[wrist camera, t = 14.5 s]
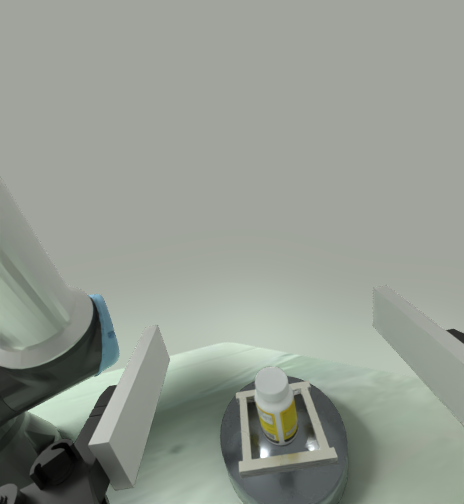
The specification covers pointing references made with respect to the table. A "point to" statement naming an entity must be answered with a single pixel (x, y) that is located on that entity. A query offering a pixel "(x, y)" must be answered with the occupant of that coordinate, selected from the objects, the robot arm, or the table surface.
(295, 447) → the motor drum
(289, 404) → the supplement bottle
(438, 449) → the table surface
